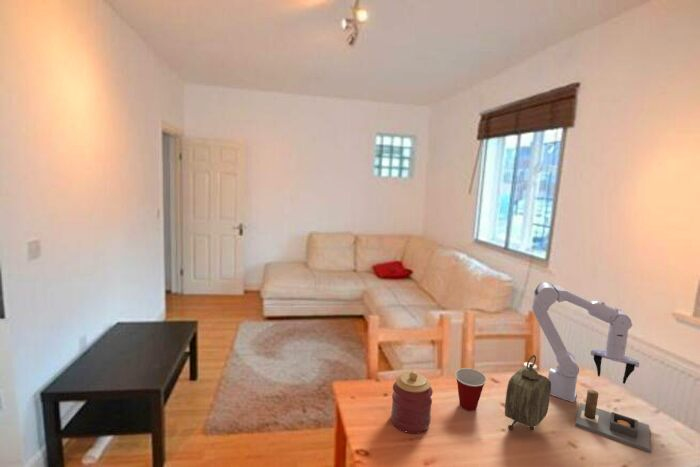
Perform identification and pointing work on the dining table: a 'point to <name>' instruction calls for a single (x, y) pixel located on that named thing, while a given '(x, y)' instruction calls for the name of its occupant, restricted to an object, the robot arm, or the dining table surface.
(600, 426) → the switch panel
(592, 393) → the brown cylinder
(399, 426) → the canister
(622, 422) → the breaker button
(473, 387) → the plastic cup
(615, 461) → the dining table surface
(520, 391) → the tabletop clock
